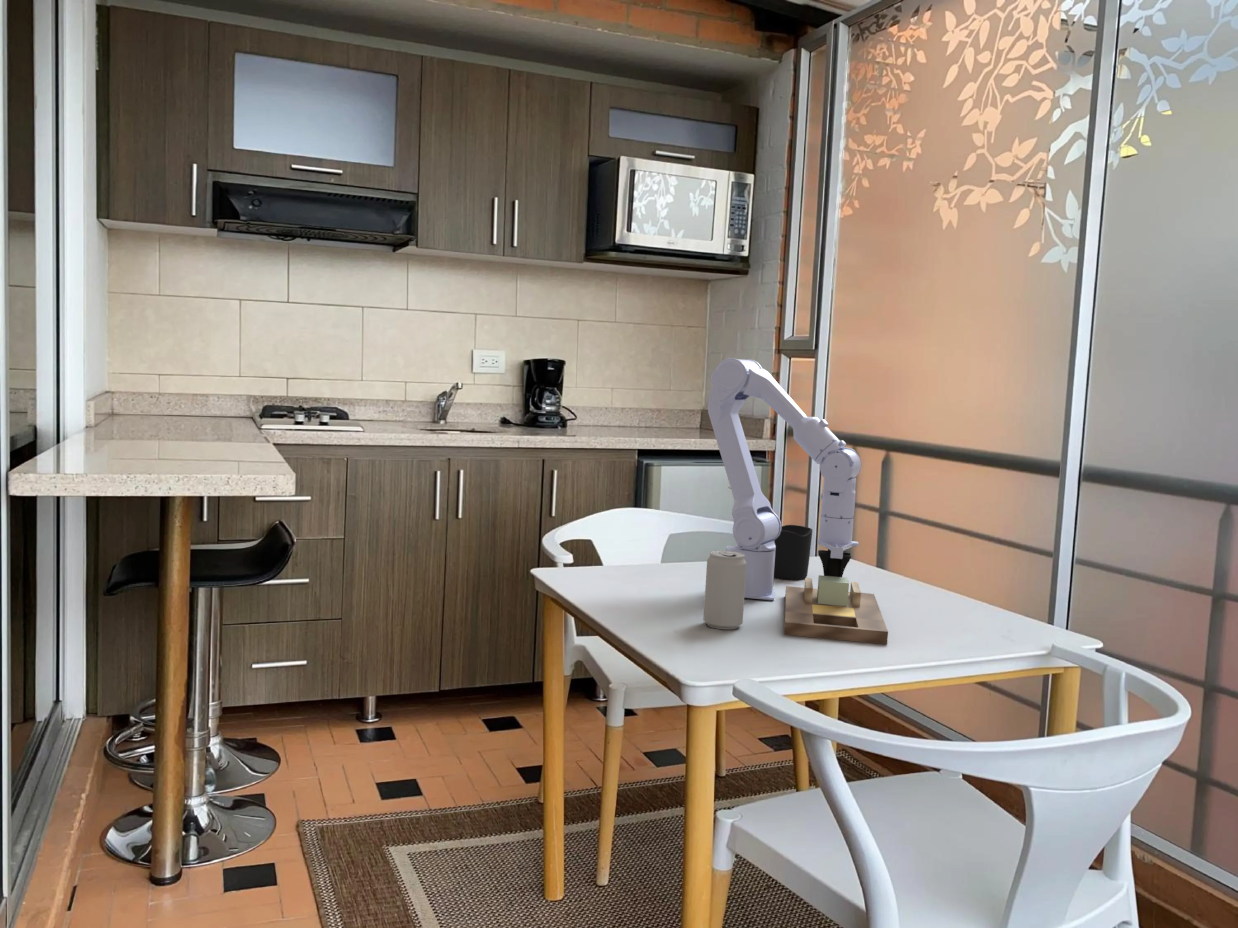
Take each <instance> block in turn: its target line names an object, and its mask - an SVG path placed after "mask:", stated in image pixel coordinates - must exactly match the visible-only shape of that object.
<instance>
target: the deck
mask: <svg viewBox="0 0 1238 928" xmlns="http://www.w3.org/2000/svg"><path fill="white" fill-rule="evenodd" d="M859 585H860V584H859V582H858V581H850V587H849V588H850V589H849V591H848V603H847V606H840V605H829V604H818V601H817V591H818V588H814V586H813V578H811V577H806V578H805V579H804V586H803V587H800V586H799V587H798V586H789V585H786V586H785V596H784V597H785V598H784V599H785V601H784V631H783V632H784V635H786V636H787V635H788V636H796V637H797V636H798V637H808V638H818V639H827V640H828V639H831V640H838V641H847V642H848V641H850V642H860V643H872V644H880V645H888V638H889V637H888V636H889V631H888V628H887V627H888V626H887V625H886V622H885V620H884V617H883V615H882V612H881V611H882V610H881V609H880V607H879V604H878V600H877V598H876V595H875V593H866V592H861V588H860V586H859Z"/></svg>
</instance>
